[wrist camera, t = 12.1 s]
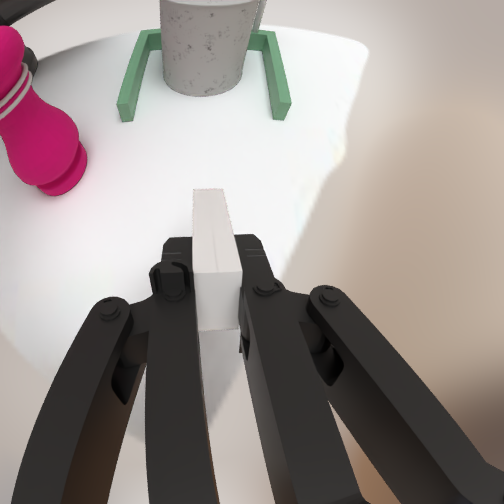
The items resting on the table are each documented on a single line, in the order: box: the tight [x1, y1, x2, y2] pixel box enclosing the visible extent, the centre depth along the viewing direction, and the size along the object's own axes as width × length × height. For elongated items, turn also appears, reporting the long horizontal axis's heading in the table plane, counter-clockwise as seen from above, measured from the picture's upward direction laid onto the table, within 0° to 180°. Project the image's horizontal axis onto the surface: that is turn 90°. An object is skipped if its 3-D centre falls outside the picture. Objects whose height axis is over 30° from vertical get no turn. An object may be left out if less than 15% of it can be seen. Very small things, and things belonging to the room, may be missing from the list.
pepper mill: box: [0, 26, 87, 196], centre depth 13 cm, size 7×7×20 cm
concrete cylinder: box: [160, 0, 259, 97], centre depth 22 cm, size 10×10×12 cm
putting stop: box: [116, 0, 292, 122], centre depth 20 cm, size 19×14×15 cm
